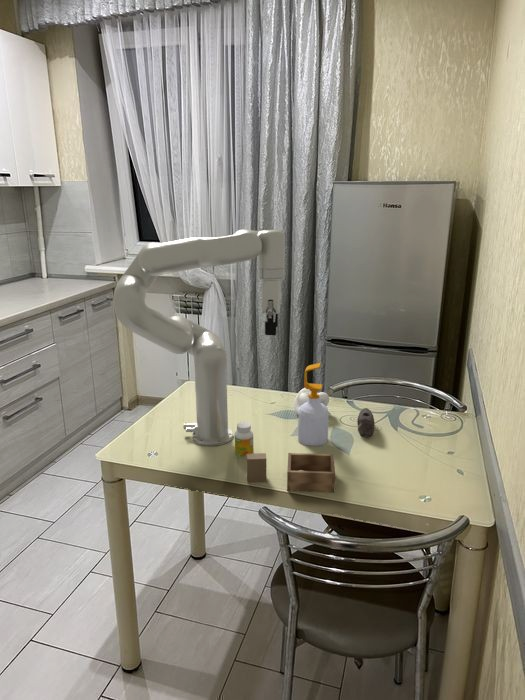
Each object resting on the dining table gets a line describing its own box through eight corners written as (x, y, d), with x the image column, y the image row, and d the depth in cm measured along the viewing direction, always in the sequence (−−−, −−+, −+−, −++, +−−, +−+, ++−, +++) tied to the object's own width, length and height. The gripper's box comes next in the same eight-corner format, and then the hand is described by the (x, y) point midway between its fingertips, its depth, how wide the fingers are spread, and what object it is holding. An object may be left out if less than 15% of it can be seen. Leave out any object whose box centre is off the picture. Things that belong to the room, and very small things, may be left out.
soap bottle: (326, 448, 158) (329, 370, 150) (296, 445, 159) (297, 368, 152) (328, 435, 166) (331, 360, 159) (300, 432, 168) (301, 359, 160)
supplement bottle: (232, 458, 152) (231, 427, 149) (239, 449, 157) (238, 419, 154) (249, 461, 150) (249, 430, 147) (256, 452, 155) (256, 422, 152)
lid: (233, 494, 135) (232, 467, 132) (232, 473, 145) (232, 447, 142) (282, 492, 135) (282, 465, 133) (278, 471, 145) (278, 446, 143)
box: (287, 492, 134) (287, 471, 133) (288, 472, 144) (288, 452, 142) (334, 494, 134) (335, 473, 132) (332, 474, 143) (333, 454, 141)
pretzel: (285, 416, 180) (285, 391, 177) (306, 405, 189) (306, 382, 186) (312, 425, 173) (312, 400, 170) (332, 414, 182) (333, 389, 179)
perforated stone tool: (357, 420, 177) (358, 401, 174) (373, 421, 176) (374, 402, 174) (356, 440, 162) (357, 419, 160) (374, 442, 161) (375, 421, 159)
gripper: (261, 269, 162) (261, 323, 167) (256, 278, 146) (256, 338, 151) (285, 269, 162) (285, 323, 167) (283, 278, 145) (283, 338, 150)
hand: (271, 330), depth 159 cm, fingers open, 9 cm apart
